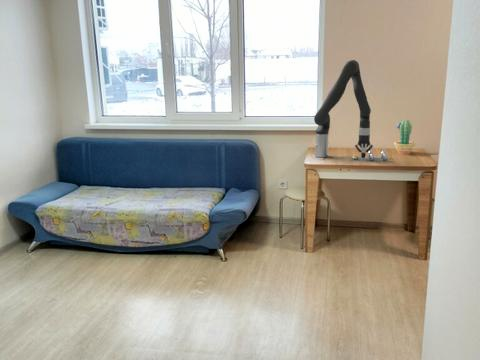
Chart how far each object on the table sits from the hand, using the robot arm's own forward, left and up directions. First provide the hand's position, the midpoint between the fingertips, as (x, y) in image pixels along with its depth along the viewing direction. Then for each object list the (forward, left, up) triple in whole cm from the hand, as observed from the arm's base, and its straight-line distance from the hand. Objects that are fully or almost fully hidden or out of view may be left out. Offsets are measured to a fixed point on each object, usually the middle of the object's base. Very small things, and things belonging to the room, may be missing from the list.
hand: (363, 157), depth 319 cm
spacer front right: (+15, -4, -1) cm, 15 cm away
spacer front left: (+6, -4, -1) cm, 7 cm away
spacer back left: (+6, +4, -1) cm, 7 cm away
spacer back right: (+15, +4, -1) cm, 15 cm away
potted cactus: (+33, +24, -2) cm, 41 cm away
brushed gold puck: (-6, 0, -1) cm, 6 cm away
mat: (+3, 0, -2) cm, 3 cm away
